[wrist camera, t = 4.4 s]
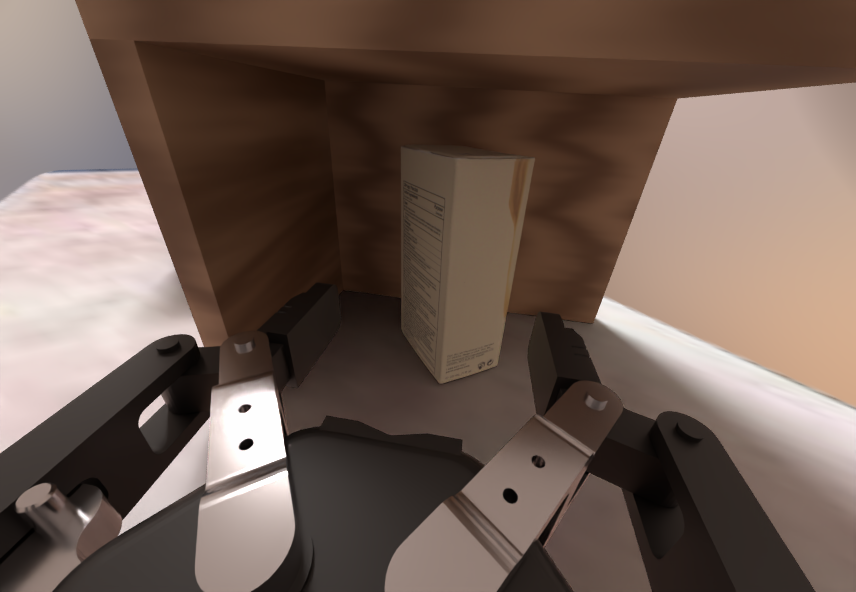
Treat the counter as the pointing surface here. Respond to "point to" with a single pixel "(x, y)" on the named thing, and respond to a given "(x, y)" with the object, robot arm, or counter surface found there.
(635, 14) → the walnut shelf
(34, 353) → the counter surface
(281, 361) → the robot arm
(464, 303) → the skincare box
